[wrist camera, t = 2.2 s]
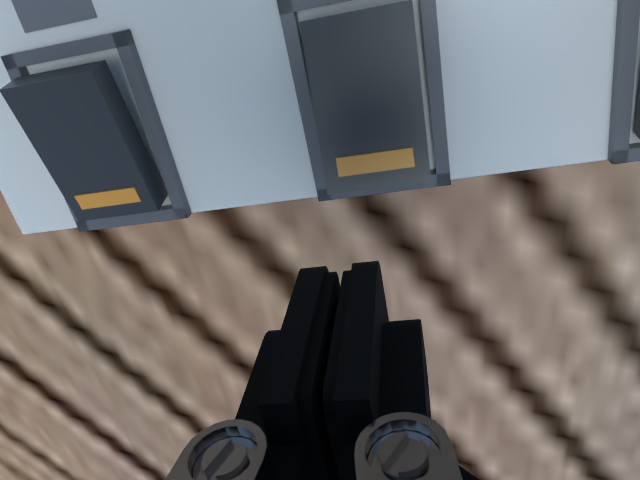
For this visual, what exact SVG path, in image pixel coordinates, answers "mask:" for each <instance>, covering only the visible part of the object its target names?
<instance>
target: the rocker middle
mask: <svg viewBox="0 0 640 480" xmlns="http://www.w3.org/2000/svg"><path fill="white" fill-rule="evenodd" d="M299 24H300V30H301V36H302V42H303V48H304V54H305V60H306V66H307V72H308V78H309V84H310V90H311V97H312V103H313V109H314V115H315V121H316V127H317V133H318V139H319V145H320V151H321V157H322V163H323V169H324V175H325V181H326V187H327V193H328V194H335V193H342V192H350V191H358V190H366V189H374V188H381V187H389V186H397V185H405V184H412V183H420V182H428V181H431V173H430V164H429V154H428V144H427V135H426V125H425V116H424V106H423V97H422V87H421V78H420V68H419V59H418V49H417V39H416V30H415V20H414V11H413V1H412V0H407V1H402V2H397V3H392V4H387V5H382V6H377V7H372V8H367V9H362V10H357V11H352V12H347V13H341V14H336V15H331V16H326V17H321V18H316V19H311V20H306V21H301V22H299Z"/></svg>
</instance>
